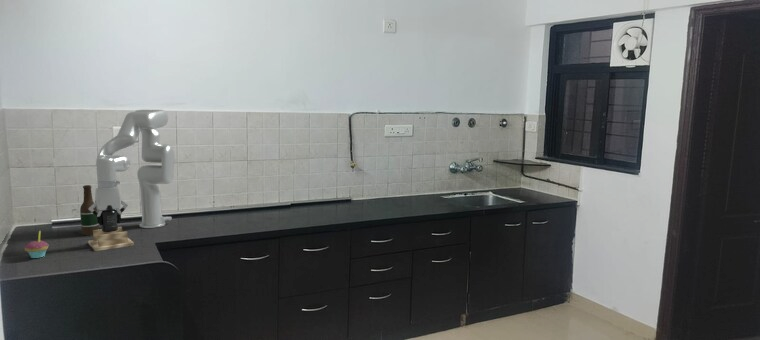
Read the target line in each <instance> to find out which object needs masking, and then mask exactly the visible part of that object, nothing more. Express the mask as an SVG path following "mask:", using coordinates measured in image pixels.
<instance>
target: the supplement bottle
mask: <svg viewBox="0 0 760 340" xmlns="http://www.w3.org/2000/svg"><path fill="white" fill-rule="evenodd" d="M106 209H107V210H104V211H102V213H101V218H102V225H100V229H101V230H102V232H113V231H117V230H118V227H119V223H118V217H117V211H116V209H114V210H113V208H112V206H111V205H108V206H107V208H106Z"/></svg>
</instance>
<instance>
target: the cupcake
mask: <svg viewBox="0 0 760 340" xmlns="http://www.w3.org/2000/svg"><path fill="white" fill-rule="evenodd" d="M41 234H42V233H41V230H39V231H38V238H37V240H34V241H33V240H32V241H29V242H28V243H27V244H25V246H24V251H25V252H27V253H28V254H29V256H30V258H39V257H43V256H44V257H46V252H47V250H48V249H49V246H50V245H49V243H48V242H46V241H44V240H41ZM44 257H43V258H44Z"/></svg>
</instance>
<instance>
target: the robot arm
mask: <svg viewBox="0 0 760 340" xmlns="http://www.w3.org/2000/svg"><path fill="white" fill-rule="evenodd" d="M168 122H169V115H168V113H167V112H166V110H163V109H137V110H135V111H130V112H128V113H127V114H126V115H125V116H124V119H123V121H122V124H121V126H120V128H119V130H118V133H117V135H115V136H114V137H112V138H111V139H110V140H109V141H107V142H105V144H104V145H102V147H101V148H100V150H99V152H98V153H97V157H96V160H95V166H96V178H97V181H96V183H97V187H96V188H95V193H94V204H93V205H92V206H91V207H89V210H90V211H91V212H92V213H93V214H95V215H96V216H97V223H99V226H101V225H102V218H101V213H102V211H104V210H107V209H106V208H107V206H108V205H111V206H112V208H113V210H114V209H115V210H116V211H117V217H118V224H120V223H121V221H122V214H123V212H124V211H125V210H126V208H127V207H128V206H129V205H128V204H127V203H126V202H124V201H123V200H121V193H120V189H119V186H118V185H120V183H121V181H119V180H117V176H116V175H117V174H116V173H118V172H121V173H122V172H126V171H127V170H128V169H129V168H130V166H131V160H130V159H129V158H128V157H127V156H125V155H120V154H119V155H118V154H117V155H115V153H117V152H119V151H121V150H123V149H126V148H129V147H131V146H133V145H134V144H135V143H136V142H137V139H138V136H139V135H140V133H141V158H142V161H143V162H145V163H154V165H153V164H148V165H147V164H145V165H141V166H140V167H138V170H137V180H138V184H139V189H140V206H141V223H139V225H138V226H139V227H140V228H142V229H155V228H160V227H164V226H165V225H166V221H172V219H173V218H172V216H163V215H162V214H163V213H162V198H161V197H162V194H161V189H160V188H159V186H158V185H167V184H171V183H172V181H173V180H174V179H173V178H174V174H175V151H174V148H173V147H172V146H171V145H170V144H166V143H164V144H163V143H161V142H160V141H161V140H160V139H161V137H160V136H161V135H160V132H159V131H158V129H160V128H163V127H165V126H167V124H168ZM155 163H156V164H157V163H158V164H159V163H160V164H161V165H158V164H157V165H156V164H155ZM94 207H95V208H96V209H97V210H98V211H97V212H96V211H94V210H93V208H94Z"/></svg>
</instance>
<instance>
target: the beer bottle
mask: <svg viewBox="0 0 760 340" xmlns="http://www.w3.org/2000/svg"><path fill="white" fill-rule="evenodd" d="M82 188H83V201H82V204H81V205H80V209H79V210H80V211H79V213H80V216H79V217H80V227H81V229H80V230H81V234H82V236H84V235H86V236H87V237H89V236H90V235H91V236H93V230H100V225H99V223H97V216H96V215H95V214H93V213H92V212H91V211H90V210H89V207H91V206H92V205H93V204H94V203H95V201H94V199H93V193H92V185H89V184H88V185H87V184H86V185H83V186H82ZM93 210H94V211H96V212H97V211H98V210H97V209H96V208H95V207H94V208H93Z"/></svg>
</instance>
